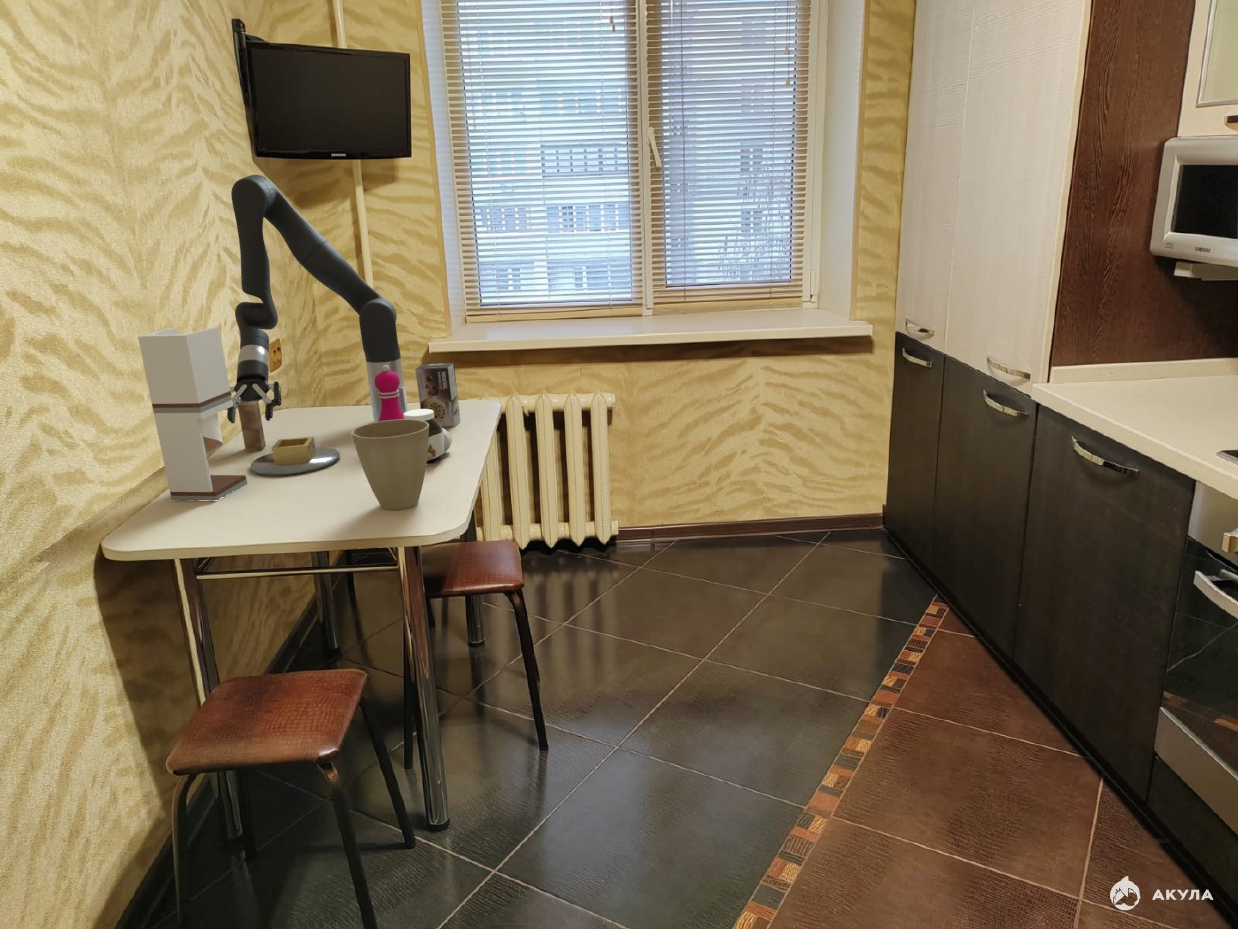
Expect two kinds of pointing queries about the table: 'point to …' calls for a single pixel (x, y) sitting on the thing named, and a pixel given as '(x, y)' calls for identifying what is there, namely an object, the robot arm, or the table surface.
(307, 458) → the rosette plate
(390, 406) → the pepper mill
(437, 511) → the table surface
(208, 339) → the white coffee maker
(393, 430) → the plant pot
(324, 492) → the table surface
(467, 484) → the table surface
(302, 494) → the table surface
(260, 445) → the tall tan wooden block
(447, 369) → the coffee box
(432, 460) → the spread jar
